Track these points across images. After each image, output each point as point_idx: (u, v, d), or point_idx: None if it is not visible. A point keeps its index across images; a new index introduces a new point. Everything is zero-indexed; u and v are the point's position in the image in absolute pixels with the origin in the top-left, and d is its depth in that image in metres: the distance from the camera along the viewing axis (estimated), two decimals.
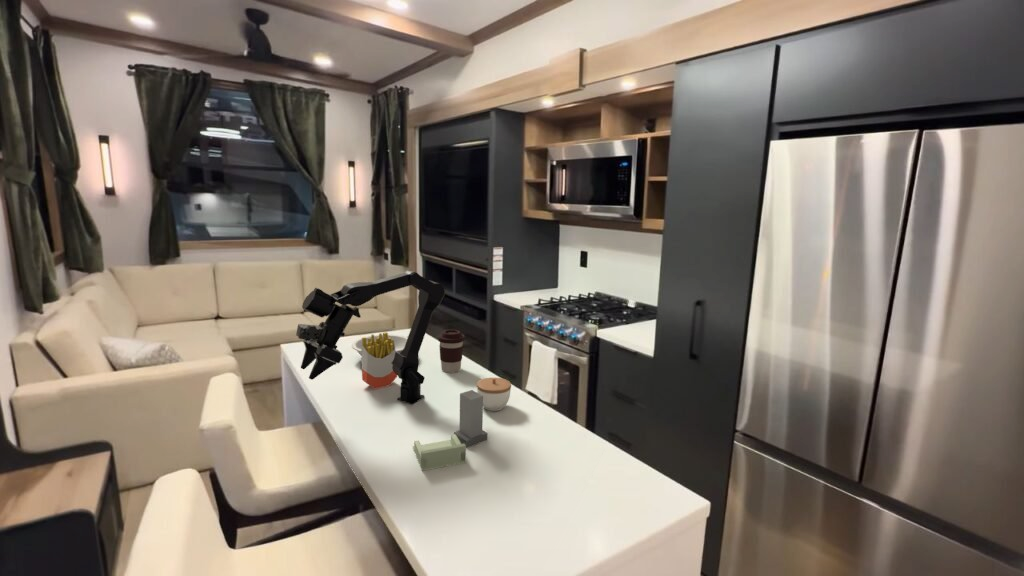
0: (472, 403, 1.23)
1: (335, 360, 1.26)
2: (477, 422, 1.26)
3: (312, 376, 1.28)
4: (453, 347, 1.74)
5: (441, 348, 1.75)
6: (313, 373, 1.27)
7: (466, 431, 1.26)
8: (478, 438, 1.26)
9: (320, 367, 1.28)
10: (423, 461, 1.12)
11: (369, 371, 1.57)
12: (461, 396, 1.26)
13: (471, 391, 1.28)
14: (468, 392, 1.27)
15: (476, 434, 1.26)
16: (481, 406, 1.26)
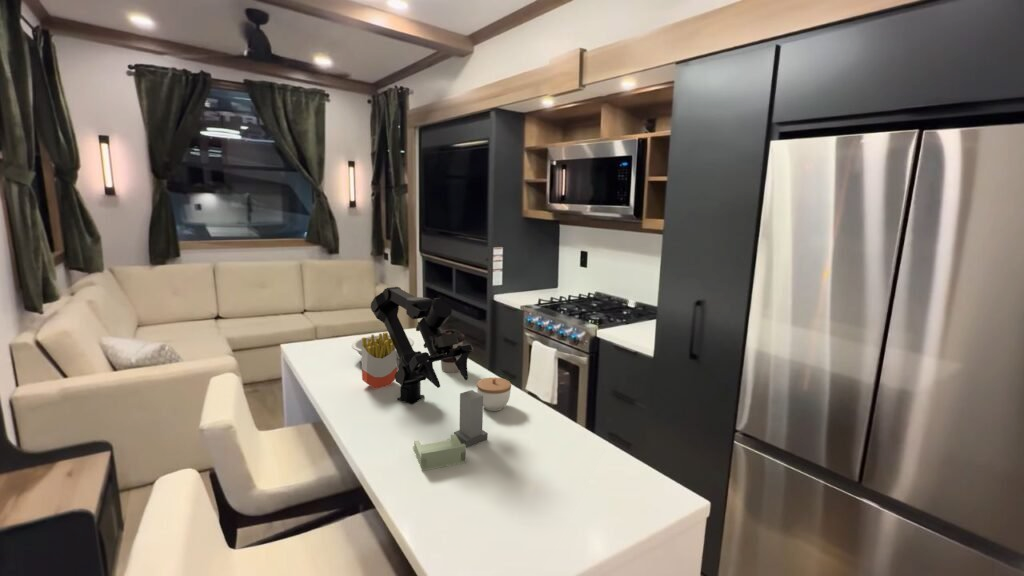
0: (472, 403, 1.23)
1: None
2: (477, 422, 1.26)
3: None
4: (453, 347, 1.74)
5: None
6: None
7: (466, 431, 1.26)
8: (478, 438, 1.26)
9: None
10: (423, 461, 1.12)
11: (369, 371, 1.57)
12: (461, 396, 1.26)
13: (471, 391, 1.28)
14: (468, 392, 1.27)
15: (476, 434, 1.26)
16: (481, 406, 1.26)
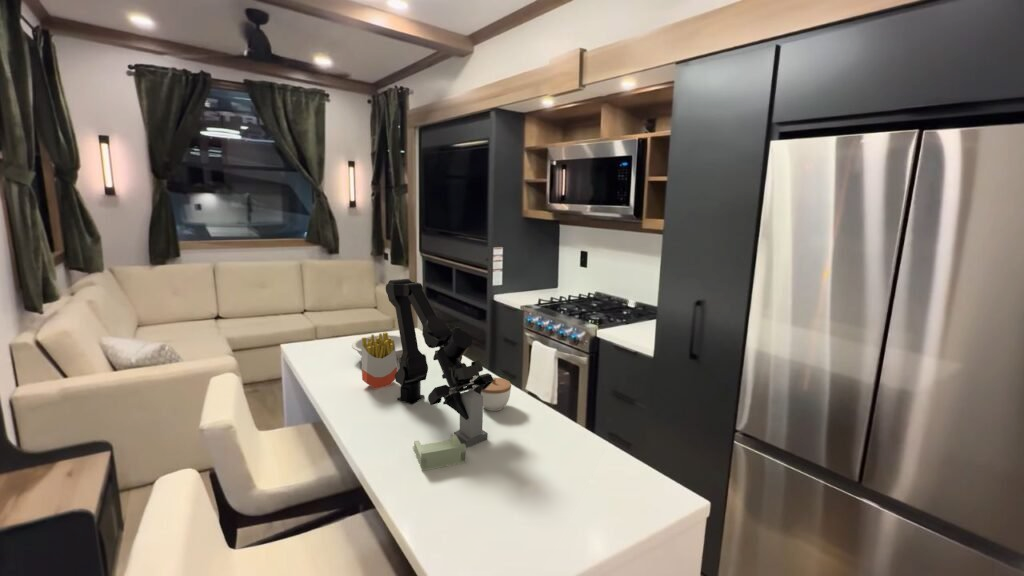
0: (472, 403, 1.23)
1: None
2: (477, 422, 1.26)
3: None
4: None
5: None
6: None
7: (466, 431, 1.26)
8: (478, 438, 1.26)
9: None
10: (423, 461, 1.12)
11: (369, 371, 1.57)
12: (461, 396, 1.26)
13: (471, 391, 1.28)
14: (468, 392, 1.27)
15: (476, 434, 1.26)
16: (481, 406, 1.26)
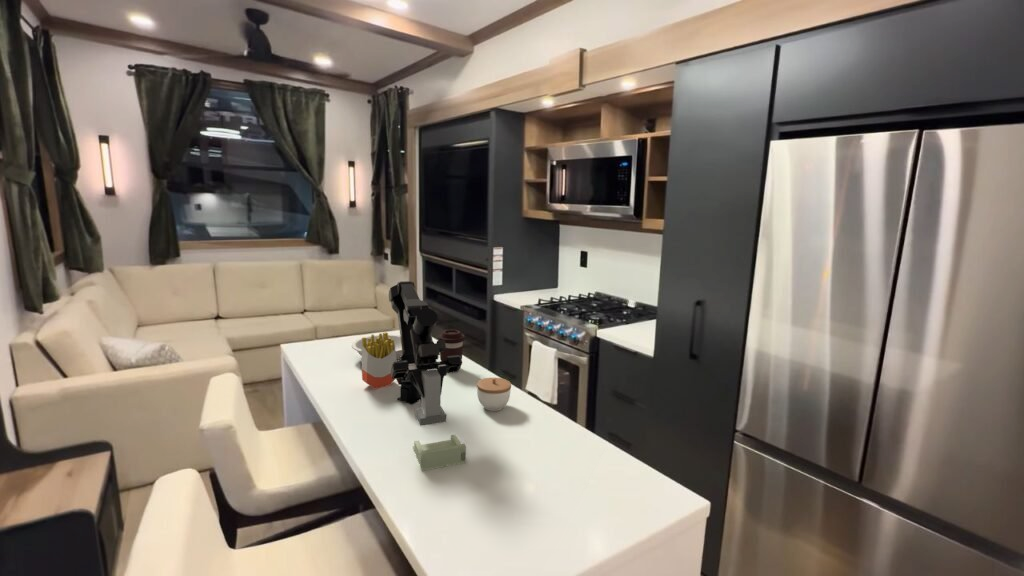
0: (427, 381, 1.22)
1: None
2: (434, 402, 1.24)
3: None
4: (453, 347, 1.74)
5: None
6: (441, 387, 1.26)
7: (423, 409, 1.25)
8: (434, 418, 1.24)
9: None
10: (423, 461, 1.12)
11: (369, 371, 1.57)
12: (421, 374, 1.25)
13: (433, 370, 1.27)
14: (430, 371, 1.26)
15: (433, 414, 1.24)
16: (438, 386, 1.23)
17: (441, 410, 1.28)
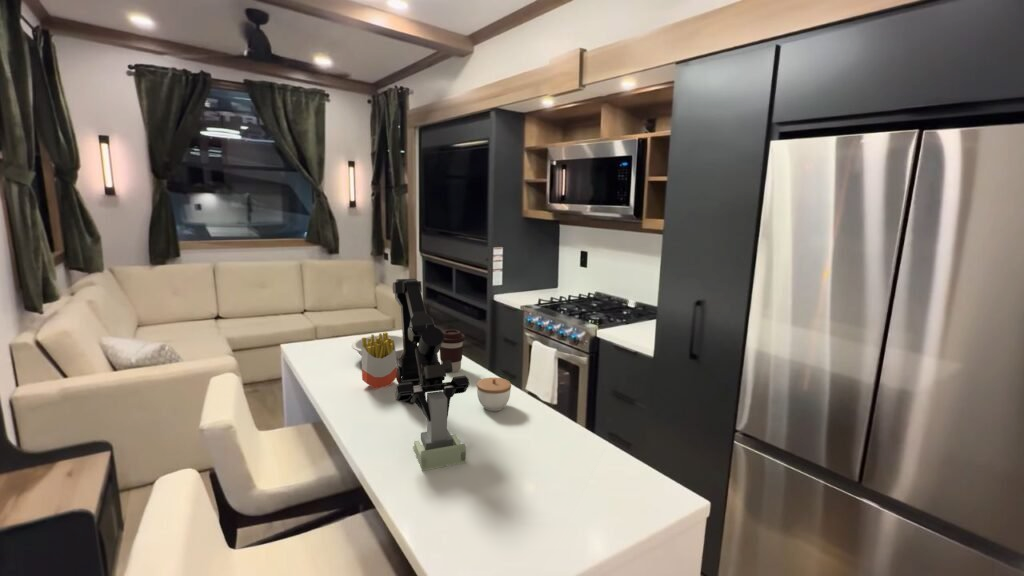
0: (433, 404, 1.16)
1: None
2: (440, 426, 1.18)
3: None
4: (453, 347, 1.74)
5: (441, 348, 1.75)
6: None
7: (429, 433, 1.19)
8: (441, 442, 1.18)
9: None
10: (423, 461, 1.12)
11: (369, 371, 1.57)
12: (427, 396, 1.20)
13: (440, 392, 1.21)
14: (436, 392, 1.20)
15: (439, 438, 1.19)
16: (445, 409, 1.18)
17: (448, 434, 1.22)
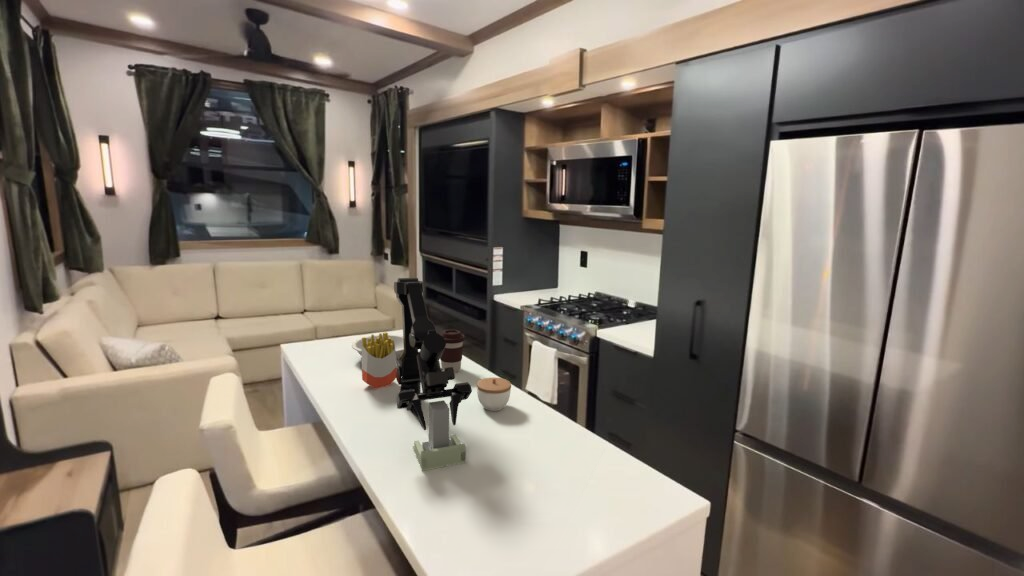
0: (435, 414, 1.15)
1: None
2: (442, 436, 1.17)
3: None
4: (453, 347, 1.74)
5: None
6: None
7: (431, 443, 1.18)
8: None
9: None
10: (423, 461, 1.12)
11: (369, 371, 1.57)
12: (429, 405, 1.18)
13: (442, 401, 1.20)
14: (438, 402, 1.19)
15: None
16: (447, 419, 1.16)
17: (449, 444, 1.21)
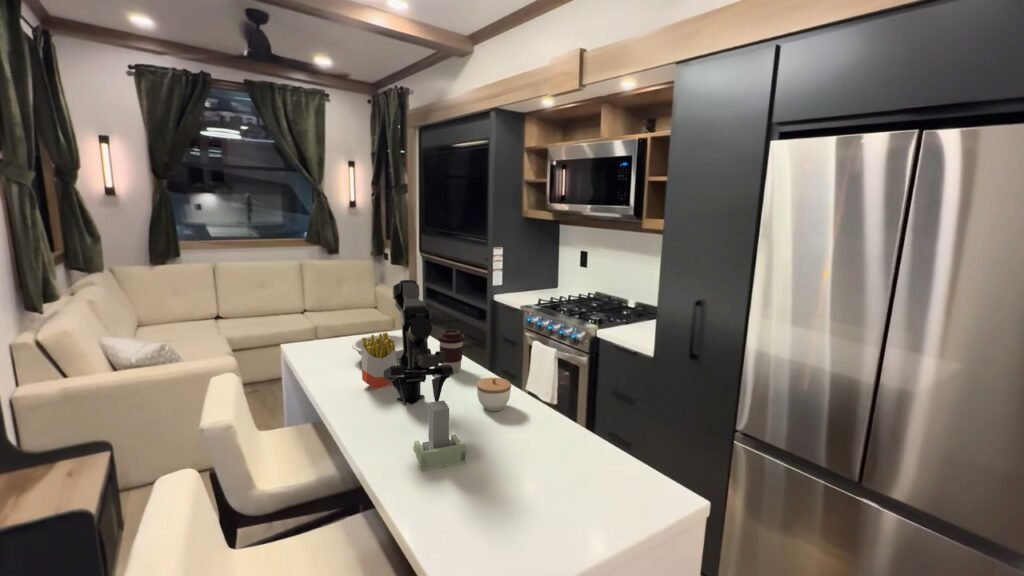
0: (435, 414, 1.15)
1: None
2: (442, 436, 1.17)
3: None
4: (453, 347, 1.74)
5: (441, 348, 1.75)
6: None
7: (431, 443, 1.18)
8: None
9: None
10: (423, 461, 1.12)
11: (369, 371, 1.57)
12: (429, 405, 1.18)
13: (442, 401, 1.20)
14: (438, 402, 1.19)
15: None
16: (447, 419, 1.16)
17: (449, 444, 1.21)
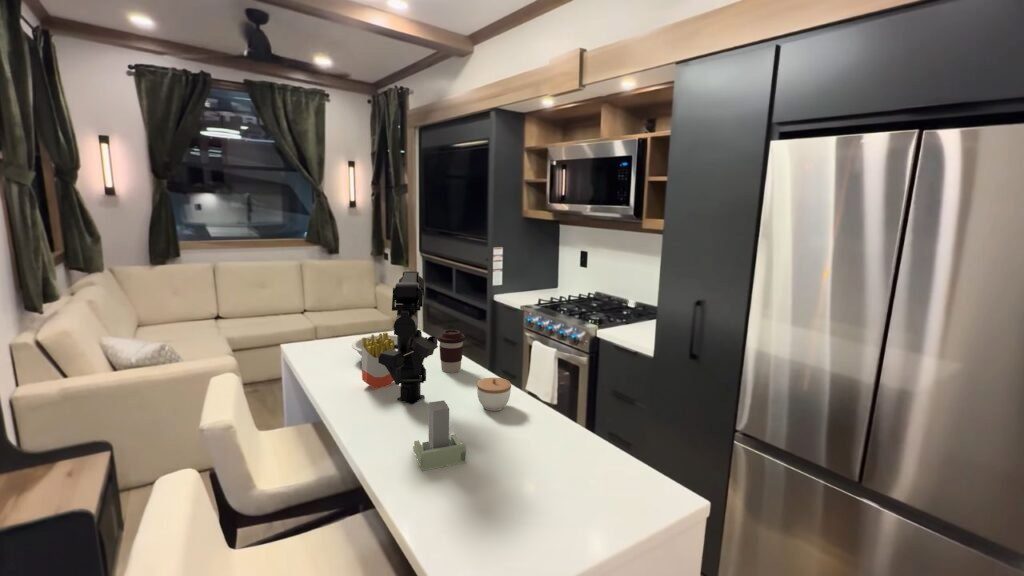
0: (435, 414, 1.15)
1: None
2: (442, 436, 1.17)
3: None
4: (453, 347, 1.74)
5: (441, 348, 1.75)
6: None
7: (431, 443, 1.18)
8: None
9: None
10: (423, 461, 1.12)
11: (369, 371, 1.57)
12: (429, 405, 1.18)
13: (442, 401, 1.20)
14: (438, 402, 1.19)
15: None
16: (447, 419, 1.16)
17: (449, 444, 1.21)
